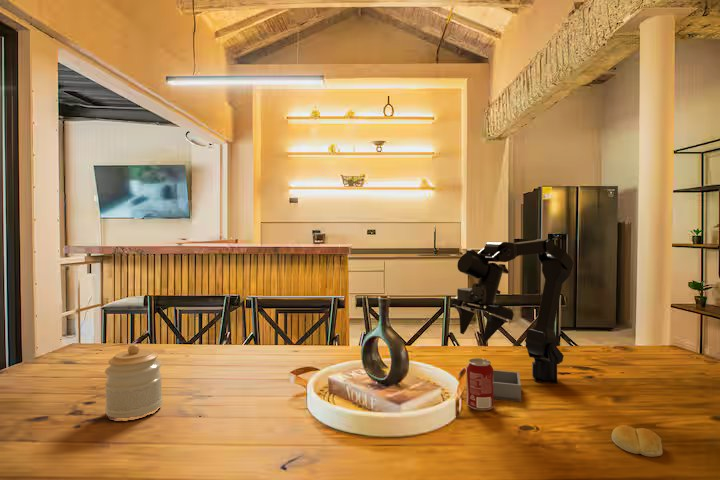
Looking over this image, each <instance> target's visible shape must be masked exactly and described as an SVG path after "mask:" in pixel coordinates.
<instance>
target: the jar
mask: <svg viewBox="0 0 720 480" xmlns="http://www.w3.org/2000/svg"><path fill="white" fill-rule="evenodd" d="M158 356H159V353H158V352H156V351H155V352H154V351H153V350H151V349H149V348H140V346H139V345H138V344H135V343H133V344H130V345H129V346H128V348H127V350H124V351H121V352H118V353H116V354H115V355H114V356H113V357H111V358H109V360H108V361H107V362H108V364H109V366H108V367H107V368H106V369H105V370H104V374H105V375H106V377H107V379H106V381H105V382H104V387H105V404H106V406H105V414H106V416H107V415H108V416H110V417H114V418H130V417H137V416H142V415H144V414H147V413H149V412H152V411H154V410H156V409H157V408H158V407H160V406H161V407H162V404H163V396H162V378H163V375H162V373H161V370H160V367H161V366H162V361H161V360H159V359H157V358H158Z"/></svg>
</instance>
